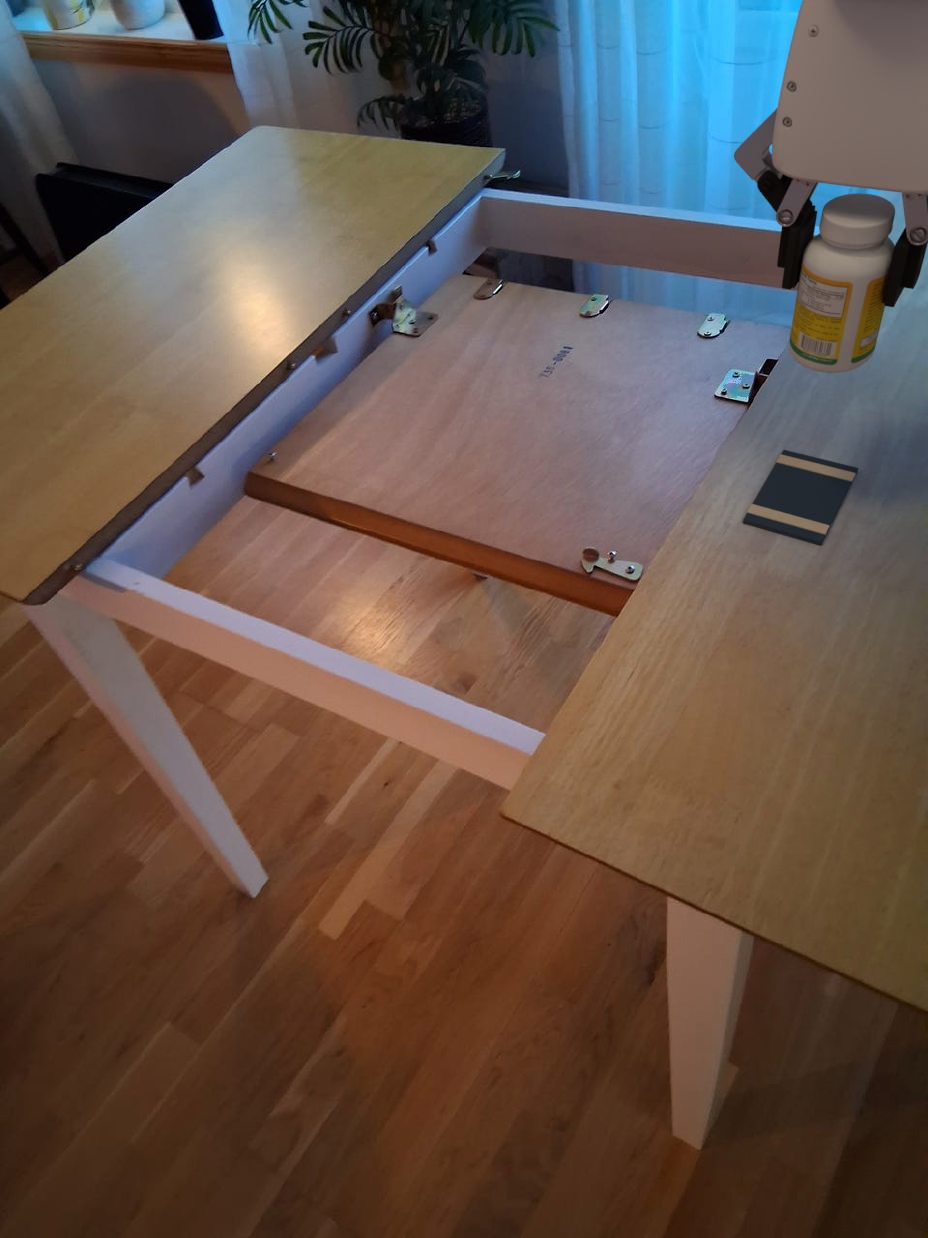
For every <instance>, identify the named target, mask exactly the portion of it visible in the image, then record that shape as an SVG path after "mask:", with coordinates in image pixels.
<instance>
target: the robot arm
mask: <svg viewBox="0 0 928 1238" xmlns="http://www.w3.org/2000/svg"><path fill="white" fill-rule="evenodd" d="M797 13H798V14H797V18H796V21H795V25H794V29H793V31H792V36H791V41H790V44H789V49H788V53H787V57H786V63H785V67H784V72H783V77H782V81H781V87H780V91H779V97H778V100H777V107H776V108H775V109H774V110H773V111H772V112H771V113H770V114H769V115H768V116H767V117H766V118H765V119H764V120H763V121H762V122H761V123H760V124H759V125H758V126H757V127H756V128H755V129H754V130H753V131H752V132H751V133H750V134H749V135H748V136H747V137H746V138H745V139H744V140H743V141H742V143H741V144H740V145H739V146H738V147H737V149H736V150H735V151H734V154H733V160H734V161H735V163H736V164H737V165H738V167H740V168H741V169H742V171H743V172H745V174H746V175H747V176H748V177H749V178H750V179H751V180H752V181H754V182H755V183H756V187H757V189H758V192H759V193H760V194H761V195H762V196H763V198H764V199H765V200H766V202H767V203H768V204H769V205H770V207H771V208H772V209H773V210H774V211H775V213H776V214H775V221H776V222H777V224H778V225H780V226H781V231H780V238H779V247H778V253H777V262H776V267H777V268H780V269H783V273H782V280H781V281H782V282H781V289H782V290H792V289H795V288H796V286H798V283H799V277H800V271H801V264H802V258H803V253H804V250H805V248H806V246H807V245H808V243H809V242H810V241H811V240H812V239H813V238H814V237H815V230H816V223H817V217H818V210H816V205H814V204H813V202H812V200H811V199H812V197H813V195H814V194H815V191H816V189H817V187H818V185H819V184H826V185H835V186H843V187H851V188H857V189H858V188H859V189H867V190H875V191H885V192H893V193H901V198H902V207H903V216H904V223H905V227H904V229H903V230H902V232H901V234H900V235H899V238H898V239H897V240H896V242H895V244H894V245H895V247H894V251H893V255H892V259H891V264H890V268H889V273H888V277H887V281H886V286H885V290H884V294H883V299H882V303H885V305H884V306H885V307H889V308H895V306H896V304H897V302H898V300H899V298H900V296H901V295H902V293H903V291H904V289H911V290H913V289H914V288H915V287H916V285H917V283H918V280H919V279H920V275H921V271H922V268H923V264H924V259H925V256H926V251H927V248H928V0H801V3H800V6H799V10H798V12H797ZM770 147H771V151H770Z"/></svg>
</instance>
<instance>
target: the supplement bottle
mask: <svg viewBox="0 0 928 1238" xmlns="http://www.w3.org/2000/svg"><path fill="white" fill-rule="evenodd" d="M895 215H896V208H895V205H894V204H893V203H892V202H891V201H890V200H888V199H887V198H884V197H882V196H880V195H876V194H871V193H859V192H858V193H847V194H843V195H839V196H836V197H834V198H831V199H830V200H829V201H827V202H826V203H825V204H824V206H823V208H822V211H821V216H820V221H819V225H818V227H819V228H818V229H819V233H818V234H816V235H814V237H813V239H812V240H811V241H810V242H809V243H808V245H807V246H806V248H805V250H804V253H803V258H802V264H801V271H800V277H799V282H798V283H797V290H796V297H795V303H794V308H793V316H792V322H791V328H790V333H789V341H788V351H789V353H790V355H791V356H792V358H793V360H794V361H795V362H796V363H797V364H799V365H800V366H802V367H804V368H806V369H808V370H811V371H814V372H818V373H824V374H825V373H826V374H838V373H845V372H851V371H853V370H855V369H857V368H860V367H861V366H863V365H864V364H865V363H867V362H868V361H869V360H870V359H871V358H872V357H873V355H874V353H875V349H876V346H877V343H878V338H879V333H880V329H881V325H882V321H883V318H884V317H883V316H884V312H885V308H886V306H884V305H885V303H882V299H883V294H884V290H885V286H886V281H887V277H888V273H889V268H890V264H891V259H892V255H893V251H894V247H895V245H896V244H895V243H894V241H893V240H892V239H891V238H890V237H889V236H890V234H891V233H892V231H893V227H894V220H895V217H896V216H895Z"/></svg>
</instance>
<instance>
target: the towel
mask: <svg viewBox="0 0 928 1238" xmlns="http://www.w3.org/2000/svg"><path fill="white" fill-rule="evenodd" d="M858 472H859V467H857V466H851V465H847V464H843V463H840V462H835V461H831V460H827V459H824V458H820V457H816V456H812V455H807V454H803V453H799V452H796V451H791V450H788V449H783V450H782V452H781V453H780V454H779V455H778V457H777V459H776V461H775V464H774V465H773V467H772V469H771V471H770V473H769V474H768V476H767V478H766V479H765V481H764V483H763V484H762V486H761V488H760V490H759V491H758V493H757V495H756V497H755V498H754V500H753V501H752V503H751V504H750V506H749V508H748V510H746V511H747V512H746V514H745V516H744V517H743V519H742V523H743V524H744V525H749V526H752V527H756V528H759V529H762V530H765V531H770V532H772V533H777V534H780V535H784V536H786V537H790V538H793V539H796V540H801V541H804V542H808V543H811V544H815V545H817V546H822V545H823V542H824V540H825V539H826V536H827V535H828V533H829V530H830V528H831V527H832V524H833V522H834V520H835V519H836V517H837V514H838V512H839V510H840V508H841V506H842V504H843V502H844V500H845V498H846V497H847V494H848V492H849V490H850V489H851V486H852V485H853V482H854V481H855V478H856V477H857V474H858Z"/></svg>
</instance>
